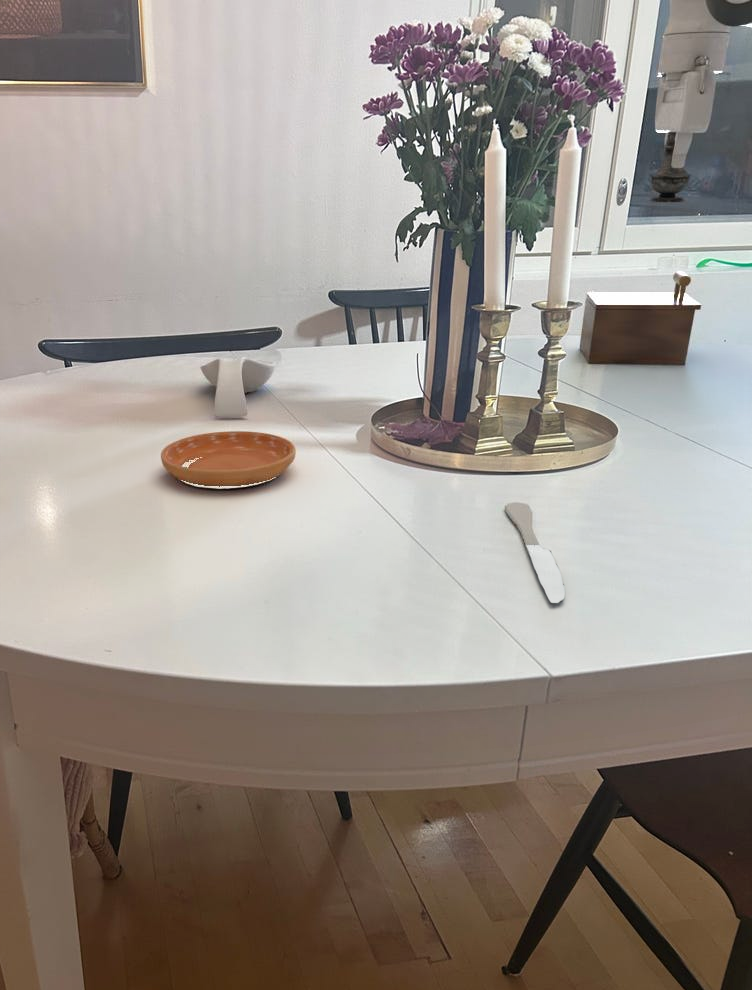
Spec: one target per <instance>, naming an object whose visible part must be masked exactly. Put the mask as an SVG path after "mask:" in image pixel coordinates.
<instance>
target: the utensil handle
mask: <svg viewBox="0 0 752 990" xmlns="http://www.w3.org/2000/svg"><path fill="white" fill-rule="evenodd" d="M504 510H505V513H506V514H507V515H508V517H509V518H510V519H511V521H512V522H513V524H514V525H515V524H516V525H517V526H516V525H515V526H516V527H517V529H518V531H519V532H521V533H520V535H521V534H522V535H521V538H522V540H523V539H524V541H523V543H524V542H525V544H526V545H534V546H535V545H540V543H539V540H538V539H537V537H536V534H535V532H534V529H533V511H532V509H531V507H530V505H529V504H528V503H524V502H509V503H507V504H506V505H505V506H504ZM525 544H524V545H525Z"/></svg>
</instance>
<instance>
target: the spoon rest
mask: <svg viewBox="0 0 752 990" xmlns="http://www.w3.org/2000/svg"><path fill="white" fill-rule="evenodd" d="M199 369H200V370H201V373H202V375H203V376H204V377H205V379H206V380H207V381H208V382H209V384H211V385H213V386H214V387H215V388H216V389H215V396H214V397H215V398H214V407H213V415H214V417H216V416H217V418H240V417H246V416H248V406H247V401H246V395H245V394H248V393H247V392H249V393H253V392H256V391H257V390H258V389H259V388H260V387H262V386H263V385H265V384H266V383H267V382H268V381H269V380H270V378H271V377H272V376H273V374H274V372H275V369H276V363H275V362H273V361H269V360H261V359H253V358H249V357H246V356H242V357H238V358H236V359H225V358H222V357H219V358H216V359H214V360H212V361H210V362H207V363H203V364H201V365H200V368H199ZM255 390H256V391H255ZM252 391H253V392H252Z"/></svg>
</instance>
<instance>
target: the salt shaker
mask: <svg viewBox="0 0 752 990" xmlns="http://www.w3.org/2000/svg"><path fill="white" fill-rule="evenodd" d="M675 135H676V132H669V133H668V139H667V144H666V145H665V144H664V145H663V146H662V147H663V148H664V155H663V159H662V162H661V165H660V168H659V169H657V171H656V172H654V173H651V174H650V175H649V177H650V178H651V186H652V189H653V190H654V192H656V193H658V194H659V196H652V197H650V198H649V199H648V200H647V202H653V203H685V202H686V200H685V199H684V198H683V197H681V196H677V195H676V194H679V193H681V192H682V191H684V190H685V189H686V187H687V186H688V184H689V181H690V178H691V177H693V174H691V173H688V172H687V171H686V169H685V166H684V167H682V168H671V167H670V162H671V155H672V154H673V150H674V145H675Z"/></svg>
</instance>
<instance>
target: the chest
mask: <svg viewBox="0 0 752 990" xmlns="http://www.w3.org/2000/svg"><path fill="white" fill-rule="evenodd" d="M695 313H696V310H654V309H595V307H594V306H593V305H592V304H591V302H590V301H589V300H588V299H587V297H586V296H585V303H584V310H583V317H582V325H581V332H580V333H581V334H580V339H579V340H580V341H579V347H578V348H579V350H580V352H581V353H582V355H583V357H584V359H585V361H586V362H587V364H589V365H591V364H592V365H660V366H661V365H666V366H668V365H669V366H685V365H686V362H687V357H688V350H689V345H690V341H691V335H692V329H693V325H694V324H693V323H694V318H695Z"/></svg>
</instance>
